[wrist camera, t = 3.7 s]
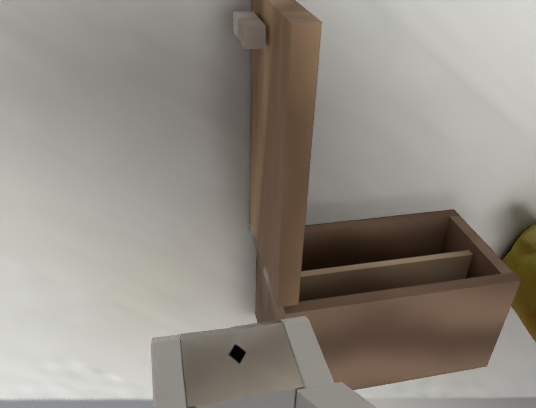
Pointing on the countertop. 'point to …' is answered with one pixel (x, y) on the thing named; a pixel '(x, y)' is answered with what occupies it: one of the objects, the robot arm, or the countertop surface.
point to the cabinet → (398, 297)
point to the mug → (525, 277)
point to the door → (280, 134)
